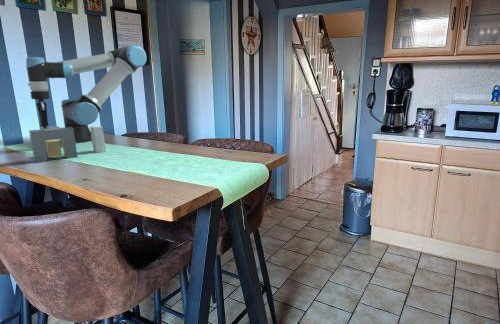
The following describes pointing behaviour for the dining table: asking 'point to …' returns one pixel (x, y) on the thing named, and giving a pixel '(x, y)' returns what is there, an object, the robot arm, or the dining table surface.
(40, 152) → the housing
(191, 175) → the dining table surface
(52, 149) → the plug
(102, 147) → the skincare box
